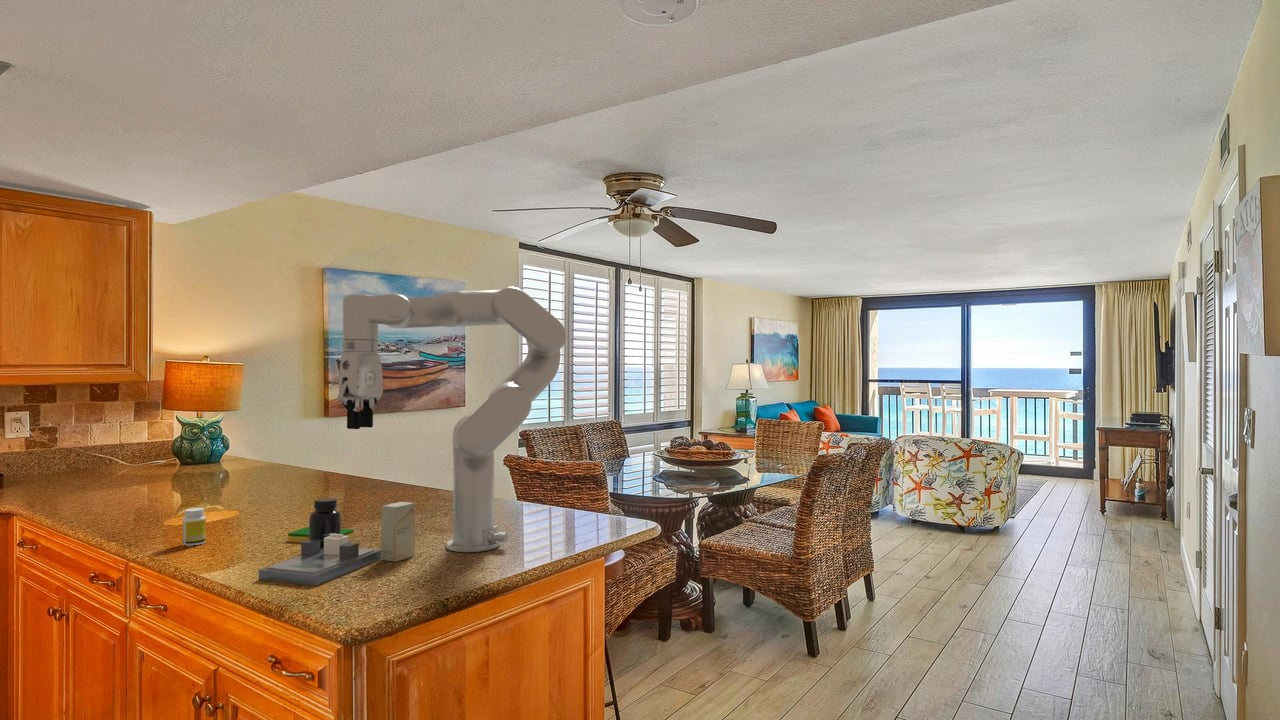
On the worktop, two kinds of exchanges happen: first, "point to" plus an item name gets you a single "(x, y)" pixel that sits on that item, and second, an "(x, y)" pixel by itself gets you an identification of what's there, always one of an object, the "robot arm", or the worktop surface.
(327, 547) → the block
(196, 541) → the supplement bottle
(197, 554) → the worktop surface
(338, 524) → the supplement bottle
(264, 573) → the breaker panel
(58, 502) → the worktop surface
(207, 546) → the worktop surface
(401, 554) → the skincare box
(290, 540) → the dish sponge
